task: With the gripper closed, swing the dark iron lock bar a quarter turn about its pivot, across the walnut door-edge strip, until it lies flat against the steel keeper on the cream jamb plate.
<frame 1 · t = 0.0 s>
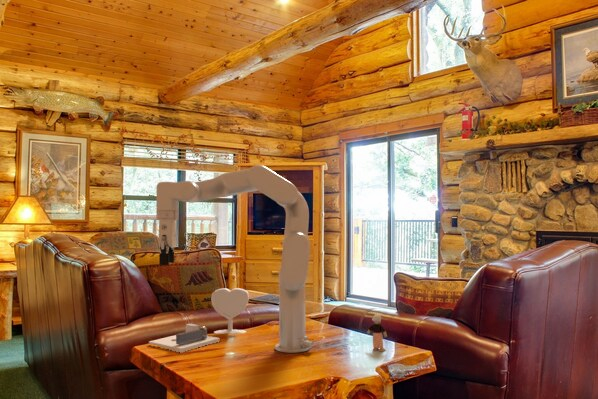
hand: (166, 263, 176), 31 cm above the table, tool pointing down, fingers open, 9 cm apart
heart sculpture: (230, 332, 206), on the table
lock bar: (192, 335, 183), point 4 cm above the table, hinge at 0.0°
grandmother figurine: (377, 350, 175), on the table
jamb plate: (184, 343, 186), on the table
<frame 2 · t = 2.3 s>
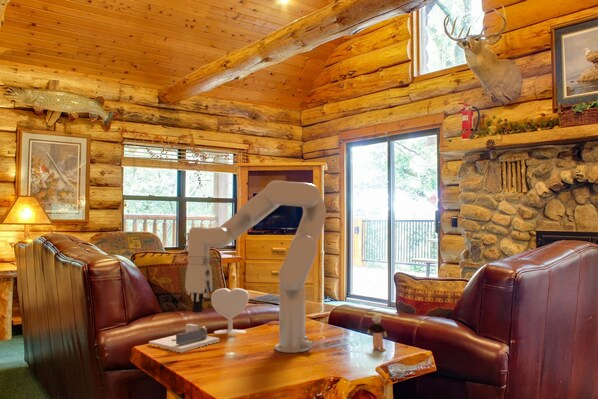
hand: (197, 312, 177), 14 cm above the table, tool pointing down, fingers closed
nothing on the table moved.
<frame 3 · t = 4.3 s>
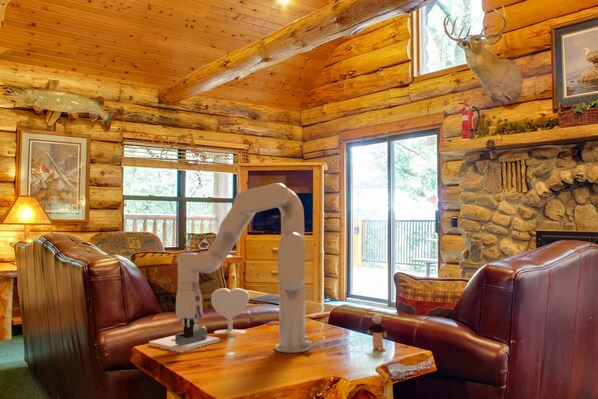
hand: (188, 337, 178), 4 cm above the table, tool pointing down, fingers closed
lock bar: (192, 334, 183), point 4 cm above the table, hinge at 2.1°, touching gripper
everything else where it was.
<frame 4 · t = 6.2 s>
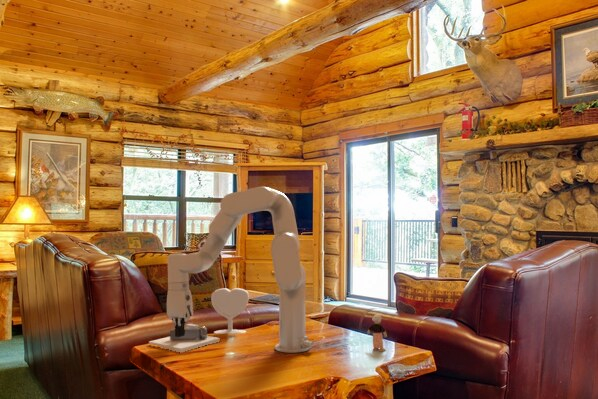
hand: (179, 336, 182), 4 cm above the table, tool pointing down, fingers closed
lock bar: (188, 333, 186), point 4 cm above the table, hinge at 44.9°, touching gripper
everything else where it was.
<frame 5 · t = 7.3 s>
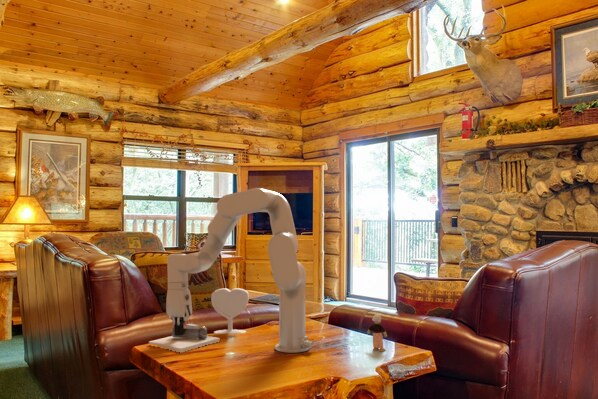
hand: (179, 334, 186), 3 cm above the table, tool pointing down, fingers closed
lock bar: (190, 331, 188), point 4 cm above the table, hinge at 65.7°, touching gripper
everything else where it was.
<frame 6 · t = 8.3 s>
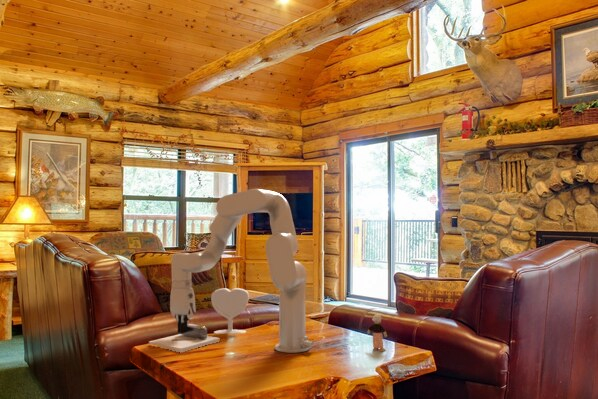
hand: (182, 332, 190), 3 cm above the table, tool pointing down, fingers closed
lock bar: (193, 330, 190), point 4 cm above the table, hinge at 90.6°, touching gripper, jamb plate
everything else where it was.
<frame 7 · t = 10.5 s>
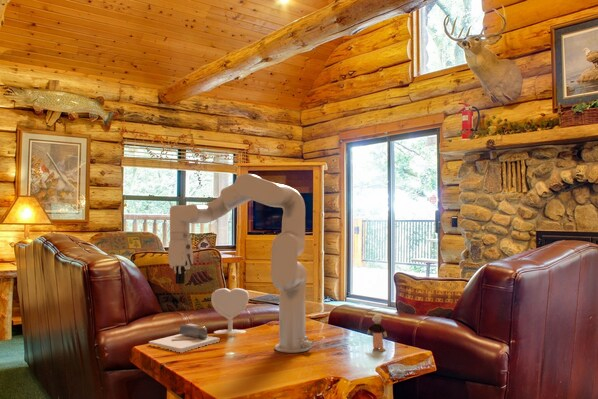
hand: (180, 283, 192), 22 cm above the table, tool pointing down, fingers closed
lock bar: (193, 330, 190), point 4 cm above the table, hinge at 90.6°, touching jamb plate
everything else where it was.
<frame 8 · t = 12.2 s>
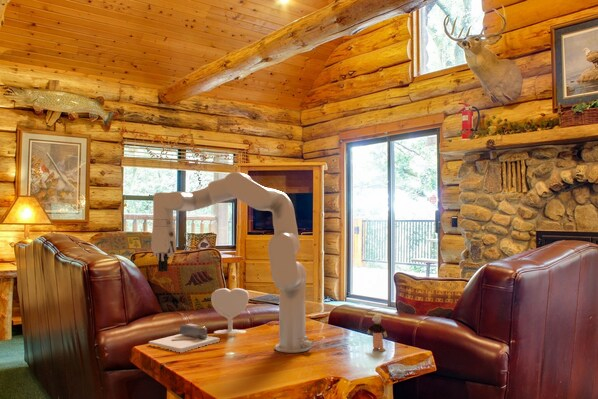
hand: (162, 271, 191), 27 cm above the table, tool pointing down, fingers closed
nothing on the table moved.
at the end: lock bar at +91° (first picture: +0°); heart sculpture moved 0.2 cm from its start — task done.
